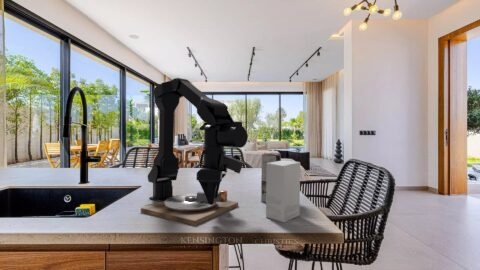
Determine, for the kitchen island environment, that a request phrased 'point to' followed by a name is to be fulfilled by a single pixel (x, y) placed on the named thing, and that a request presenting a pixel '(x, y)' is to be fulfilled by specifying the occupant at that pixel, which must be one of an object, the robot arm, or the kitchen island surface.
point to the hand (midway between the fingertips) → (213, 201)
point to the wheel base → (188, 217)
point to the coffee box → (265, 159)
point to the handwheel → (193, 201)
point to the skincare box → (282, 190)
